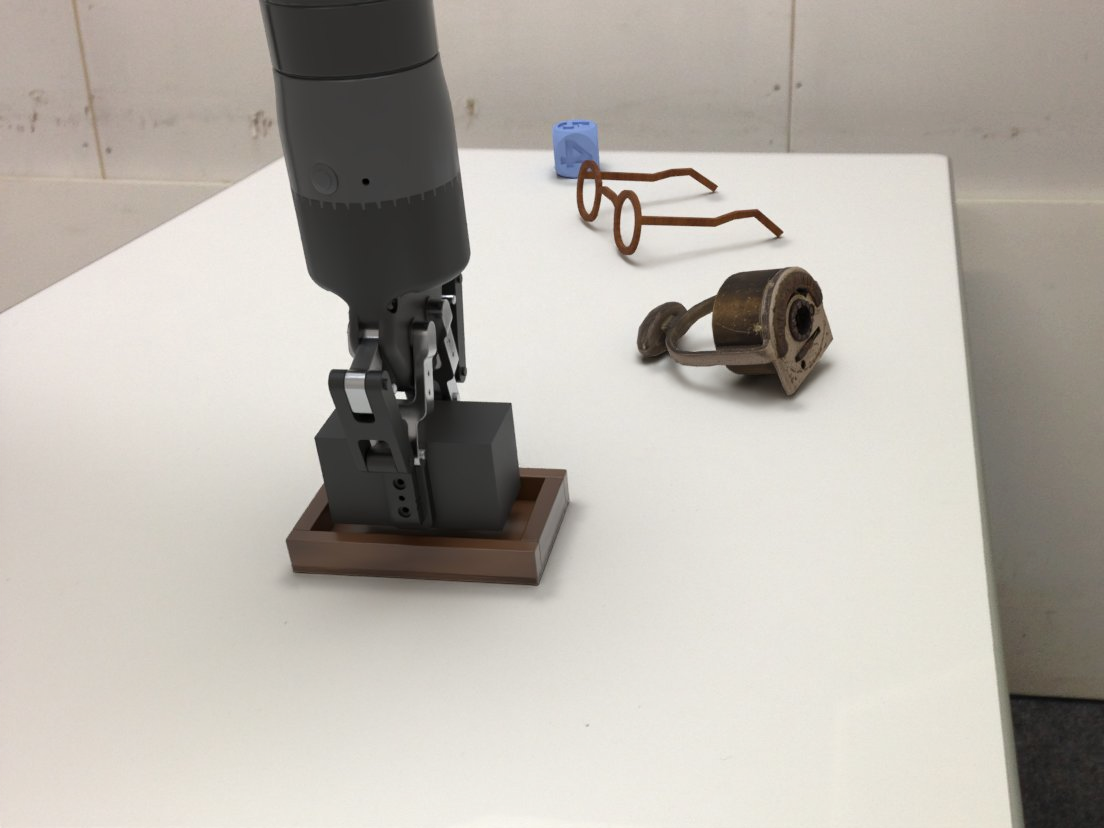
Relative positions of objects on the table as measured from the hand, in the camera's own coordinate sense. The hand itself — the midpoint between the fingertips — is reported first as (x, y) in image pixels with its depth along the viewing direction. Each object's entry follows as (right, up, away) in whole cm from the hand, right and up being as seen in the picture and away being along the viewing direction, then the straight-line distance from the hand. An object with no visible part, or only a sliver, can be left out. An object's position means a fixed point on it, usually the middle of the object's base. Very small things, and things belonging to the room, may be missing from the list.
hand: (428, 498), depth 67 cm
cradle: (0, -2, +1) cm, 2 cm away
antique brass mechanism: (+17, +11, +17) cm, 26 cm away
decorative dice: (+5, +35, +50) cm, 61 cm away
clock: (0, 0, 0) cm, 0 cm away
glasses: (+14, +26, +37) cm, 47 cm away
